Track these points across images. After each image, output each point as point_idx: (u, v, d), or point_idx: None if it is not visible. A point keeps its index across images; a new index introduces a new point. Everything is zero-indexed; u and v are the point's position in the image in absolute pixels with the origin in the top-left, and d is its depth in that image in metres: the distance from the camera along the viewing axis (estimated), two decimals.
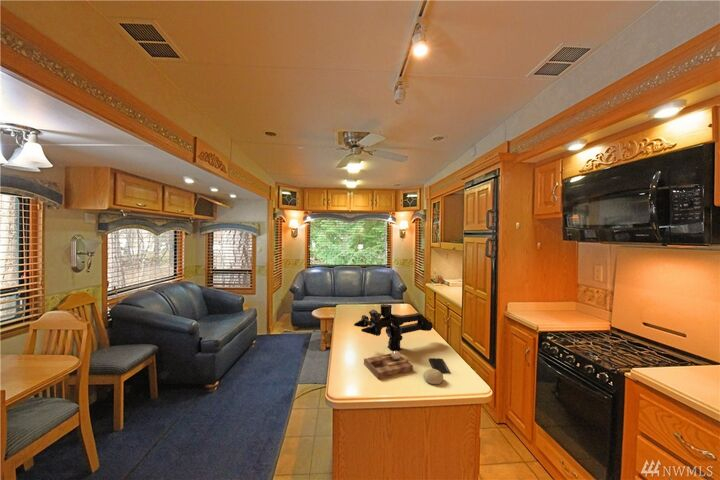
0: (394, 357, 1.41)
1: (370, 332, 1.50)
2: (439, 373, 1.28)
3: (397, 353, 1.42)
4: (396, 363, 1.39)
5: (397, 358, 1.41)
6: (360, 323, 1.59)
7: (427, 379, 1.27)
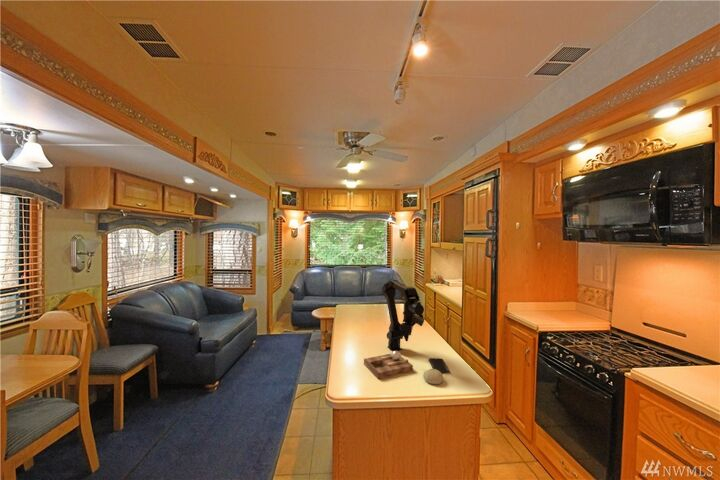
0: (394, 357, 1.41)
1: None
2: (439, 373, 1.28)
3: (397, 353, 1.42)
4: (396, 363, 1.39)
5: (397, 358, 1.41)
6: None
7: (427, 379, 1.27)
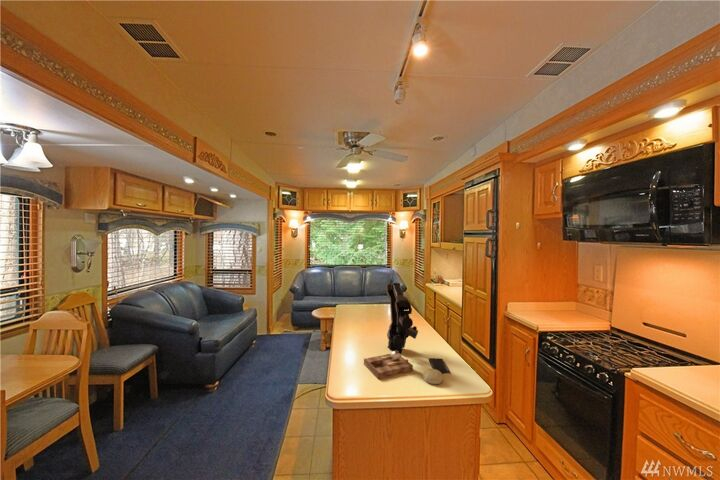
0: (394, 358, 1.41)
1: None
2: (439, 373, 1.28)
3: (396, 353, 1.41)
4: (396, 363, 1.39)
5: (397, 358, 1.41)
6: None
7: (427, 379, 1.27)
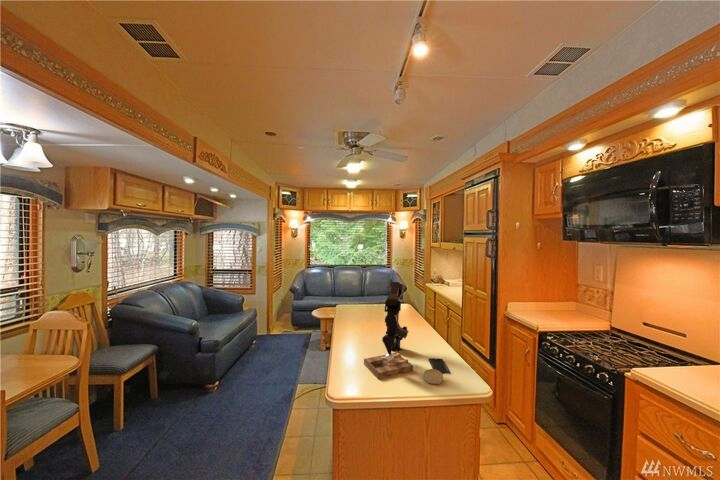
0: None
1: None
2: (439, 373, 1.28)
3: (388, 362, 1.38)
4: (396, 363, 1.39)
5: None
6: None
7: (427, 379, 1.27)
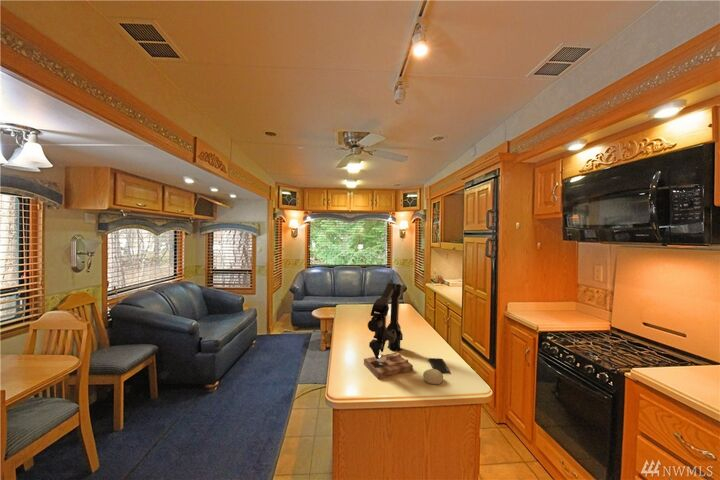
0: (385, 357, 1.39)
1: None
2: (439, 373, 1.28)
3: (384, 362, 1.38)
4: (396, 363, 1.39)
5: (383, 357, 1.38)
6: None
7: (427, 379, 1.27)
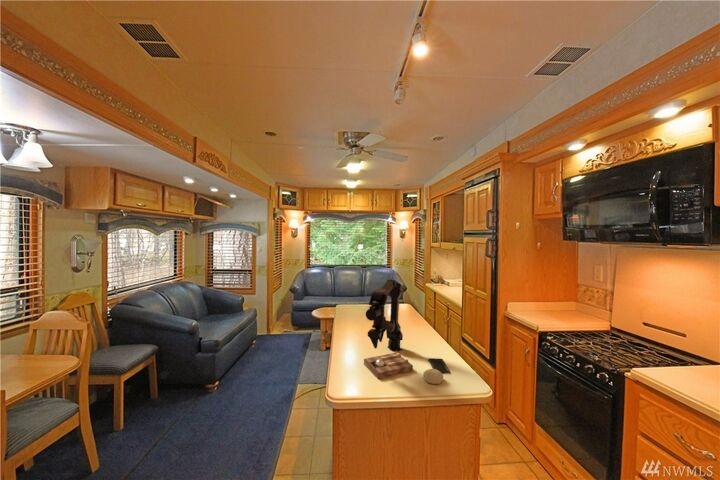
0: (381, 361, 1.39)
1: None
2: (439, 373, 1.28)
3: (383, 365, 1.38)
4: (396, 363, 1.39)
5: (379, 363, 1.37)
6: None
7: (427, 379, 1.27)
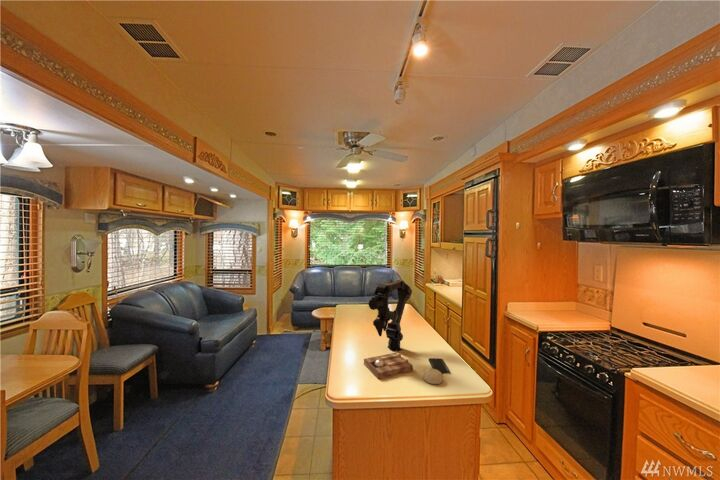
0: (380, 361, 1.38)
1: None
2: (439, 373, 1.28)
3: (382, 365, 1.38)
4: (396, 363, 1.39)
5: (378, 363, 1.37)
6: None
7: (427, 379, 1.27)
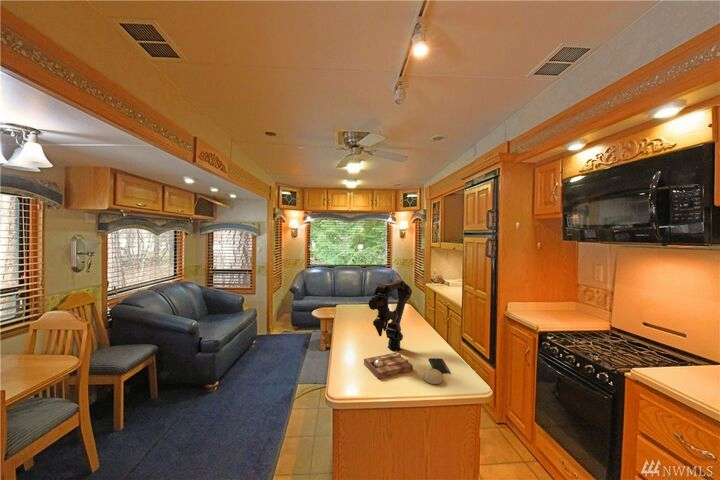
0: (379, 361, 1.38)
1: None
2: (439, 373, 1.28)
3: (382, 365, 1.37)
4: (396, 363, 1.39)
5: (378, 364, 1.37)
6: None
7: (427, 379, 1.27)
